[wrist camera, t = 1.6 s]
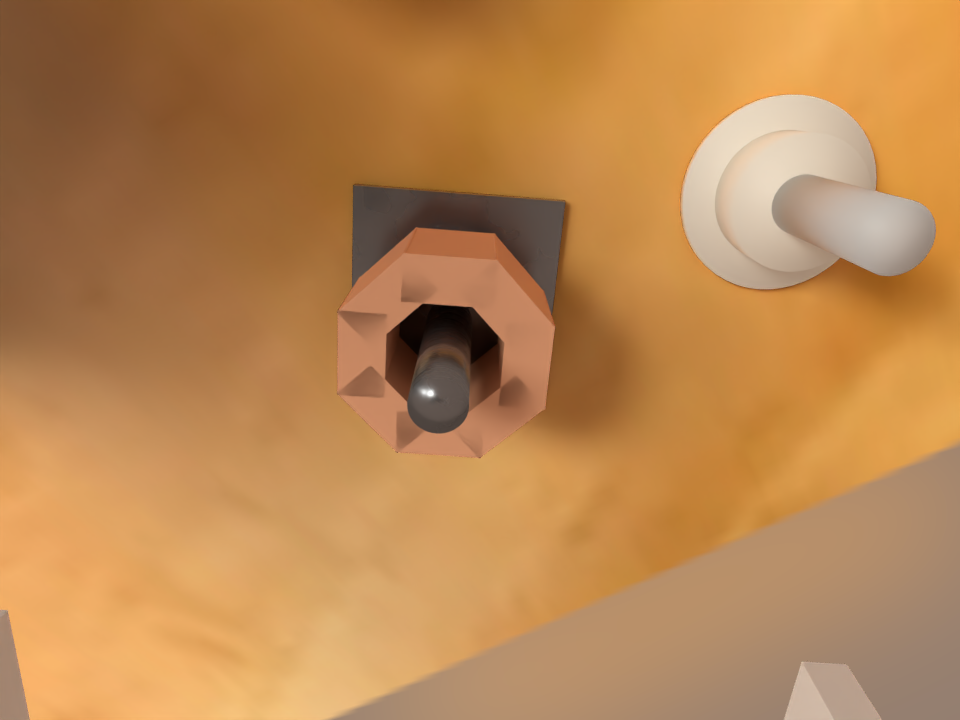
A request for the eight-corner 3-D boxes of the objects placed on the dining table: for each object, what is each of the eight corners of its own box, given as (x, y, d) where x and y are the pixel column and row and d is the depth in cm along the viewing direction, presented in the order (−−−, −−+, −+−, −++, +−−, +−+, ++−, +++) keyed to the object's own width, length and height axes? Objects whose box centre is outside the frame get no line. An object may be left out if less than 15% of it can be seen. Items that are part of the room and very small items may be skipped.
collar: (357, 397, 32) (336, 448, 28) (359, 222, 30) (337, 247, 25) (530, 409, 33) (539, 462, 28) (550, 237, 30) (563, 264, 25)
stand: (352, 378, 37) (286, 526, 24) (355, 183, 33) (278, 240, 21) (541, 391, 37) (572, 545, 25) (564, 200, 34) (613, 265, 21)
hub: (665, 279, 35) (737, 353, 25) (699, 86, 32) (796, 84, 22) (843, 293, 35) (982, 371, 25) (894, 102, 32) (1076, 108, 22)
